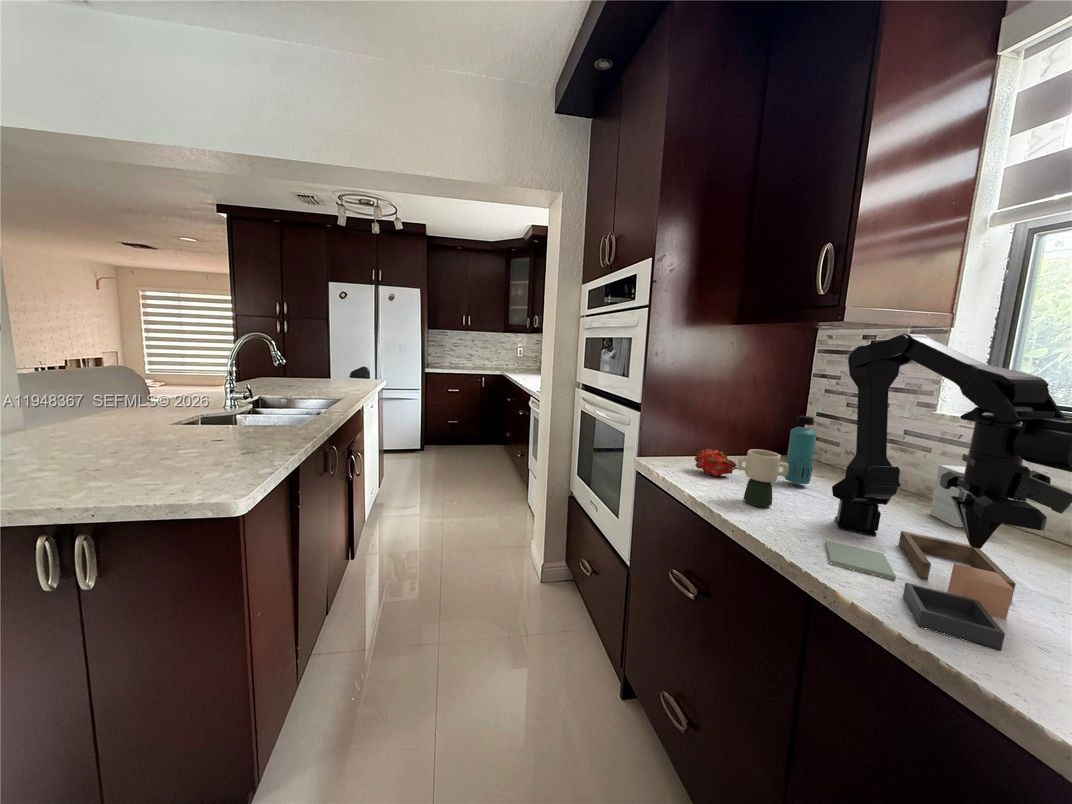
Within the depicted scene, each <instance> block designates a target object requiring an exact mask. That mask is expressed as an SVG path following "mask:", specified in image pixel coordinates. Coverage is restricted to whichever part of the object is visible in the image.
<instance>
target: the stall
mask: <svg viewBox="0 0 1072 804" xmlns="http://www.w3.org/2000/svg"><path fill="white" fill-rule="evenodd" d="M898 546H899V548H900V549H901V550H902V553H903V554H904V556H905V558H906V559H907V561H908V562H909V564H910V566H911V567H912V568H913V570H914V571H915V573H916V574H917V576H918V578H919V577H920V578H921V579H920V578H919V579H920V580H924V579H925V580H924V581H928V580H929V576H930V570H931V565H932V564H931V562H930V561H929V559H928V558H927V556H926V555H925V554H930V555H934V556H938V557H942V556H943V558H947V559H951V558H952V560H956V561H960V562H965V563H970V565H971V567H973V568H977V569H982V570H986V571H990V572H995V573H998V574H999V575H1000V576H1001V577H1002V578H1003V579H1004V580H1005V581H1006V582H1007V583H1008V584H1009V585H1010V586H1011V587H1012V588H1013V594H1012V598H1011V602H1012V601H1013V597H1014V592H1015V590H1016V589H1015V588H1016V584H1017V583H1016V582H1015V581H1014V580H1013V579H1012V578H1011V577H1010V576H1009V575H1008V574H1007V573H1005V572H1004V571H1003V569H1001V568H1000V567H999V566H998V565H997V564H996V563H995V562H994V561H993V560H992V559H991V558H990V557H989V556H988V555H987V554H986V553H985V552H984V551H983V550H982V548H981V549H978V548H973V547H971V546H970V545H969V543H968V544H967V543H964V542H963V543H961V542H958V541H954V540H953V541H952V540H949V539H942V538H937V537H934V536H928V535H924V534H919V533H915V532H910V531H904V530H900V535H899V540H898ZM924 553H925V554H924Z"/></svg>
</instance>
